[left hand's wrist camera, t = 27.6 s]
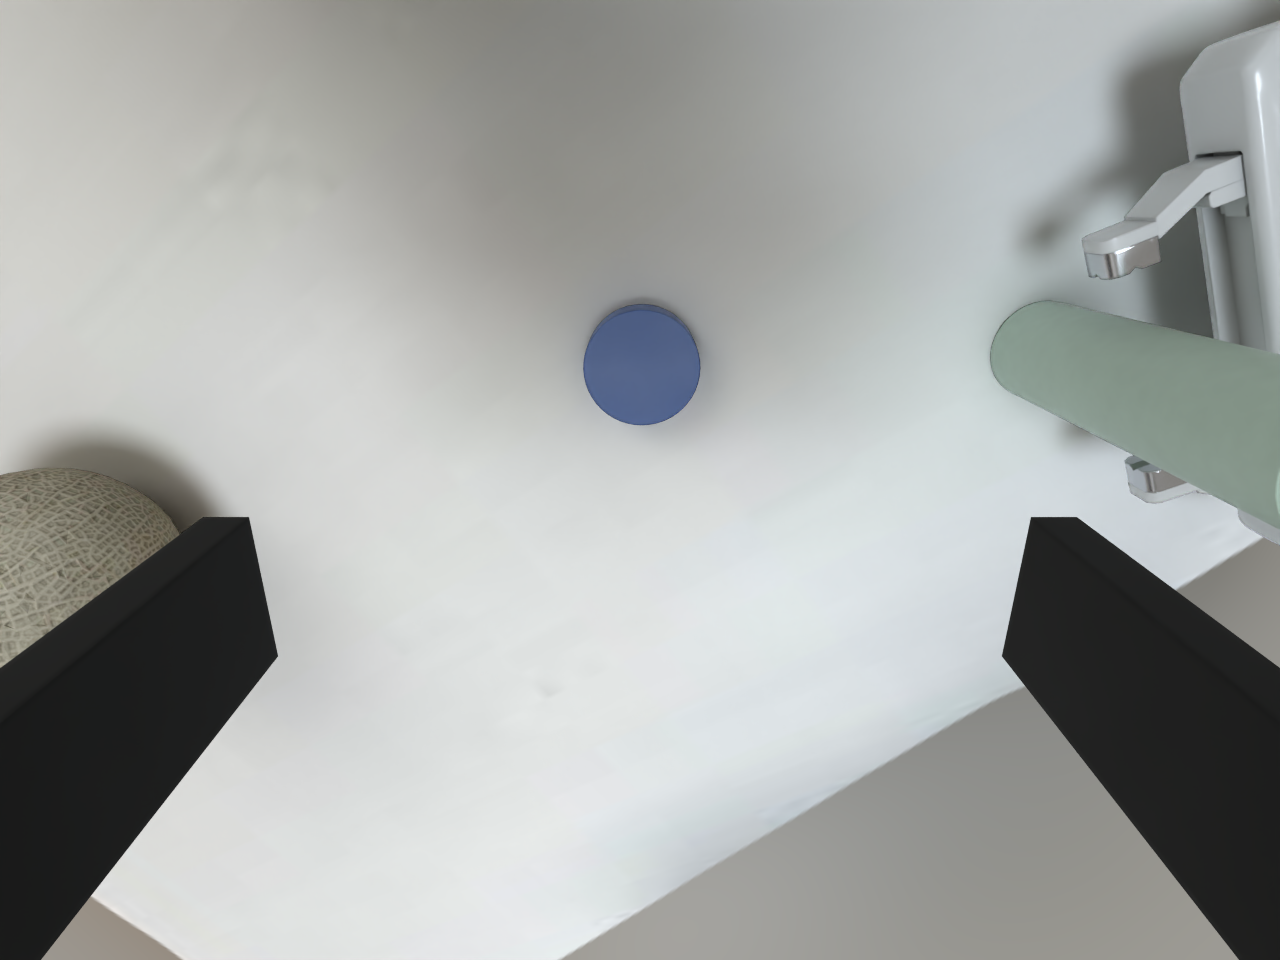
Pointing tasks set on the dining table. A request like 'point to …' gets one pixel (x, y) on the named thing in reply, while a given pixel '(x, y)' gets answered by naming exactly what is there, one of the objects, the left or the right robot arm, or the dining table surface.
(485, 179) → the dining table surface
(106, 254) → the dining table surface
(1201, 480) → the pale green cylinder
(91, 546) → the fruit
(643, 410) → the lid
